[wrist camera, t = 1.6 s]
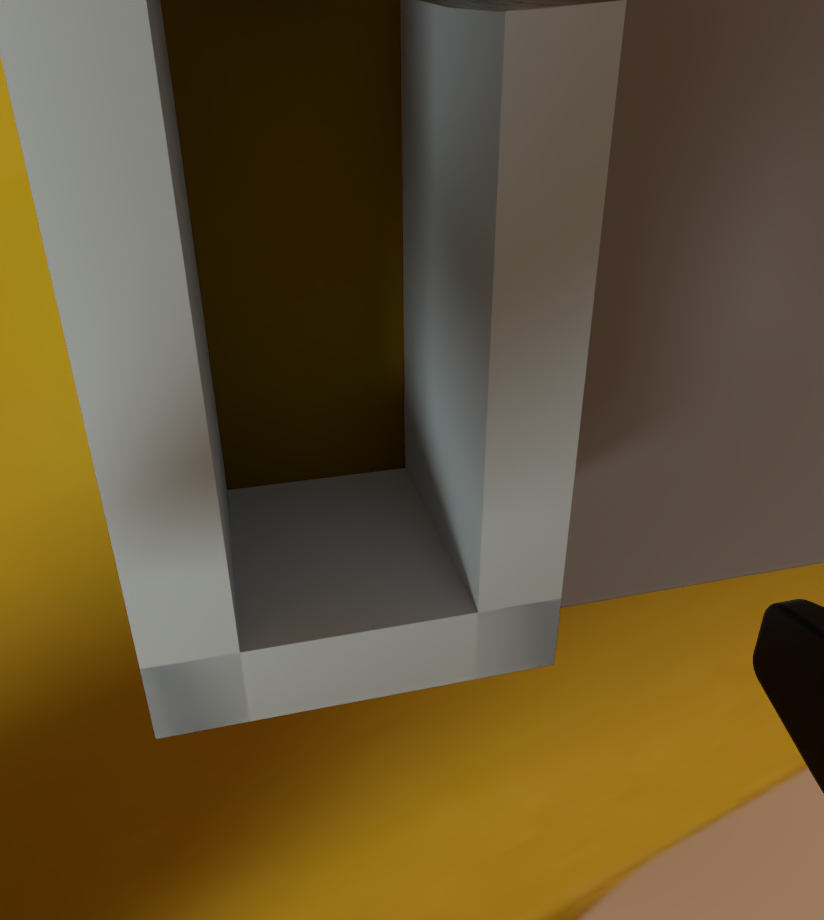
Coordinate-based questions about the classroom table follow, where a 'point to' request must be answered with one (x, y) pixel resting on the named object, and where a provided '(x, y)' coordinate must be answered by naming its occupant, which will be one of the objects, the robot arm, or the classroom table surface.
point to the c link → (425, 363)
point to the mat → (706, 306)
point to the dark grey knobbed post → (509, 4)
